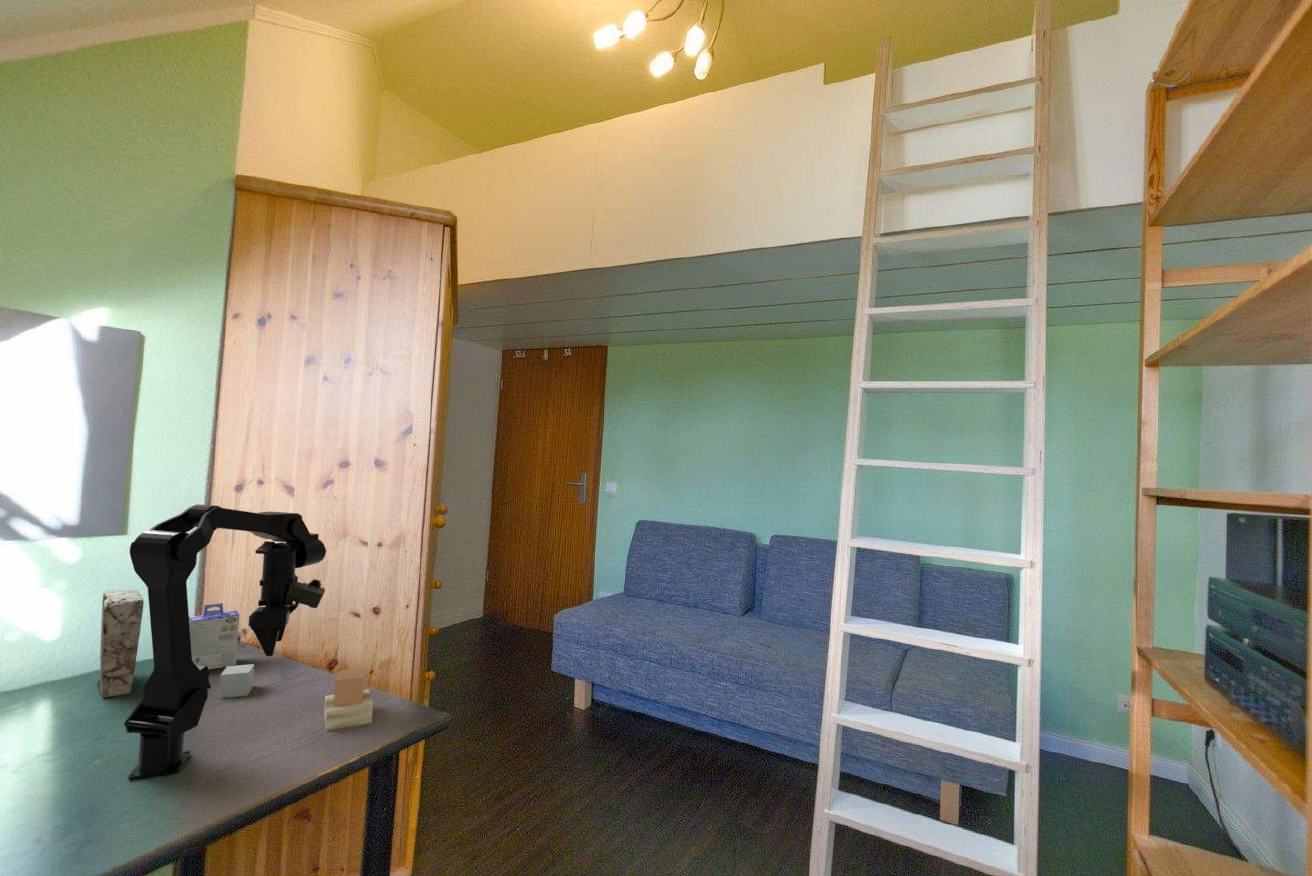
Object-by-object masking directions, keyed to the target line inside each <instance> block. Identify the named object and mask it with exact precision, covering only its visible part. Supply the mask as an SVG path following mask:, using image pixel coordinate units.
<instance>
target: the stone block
mask: <svg viewBox="0 0 1312 876" xmlns="http://www.w3.org/2000/svg"><path fill="white" fill-rule="evenodd" d="M101 603H102V604H101V605H102V607H101V621H100V622H101V625H100V626H101V627H100V630H101V631H100V653H99V657H100V660H99V662H100V663H99V667H100V669H99V671H100V672H99V673H100V675H99V676H100V677H99V680H98V681H97V683H96V684H97V686H98V689H99V693H100V694H101V697H102V698H107V697H114V696H115V697H116V696H121V695H123V696H124V695H129V694H131V693H133V689H132V688H133V683H134V677H135V676H134V675H135V671H136V669H135V668H136V664H137V656H138V650H139V649H138V648H139V641H140V633H141V629H142V628H141V627H142V620H143V619H142V618H143V611H144V605H145V604H144V597H143V596H142V594H140V591H139V590H138V589H120V590H117V589H116V590H106V591H104V592H103V594H102V602H101Z"/></svg>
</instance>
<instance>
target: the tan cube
mask: <svg viewBox="0 0 1312 876" xmlns="http://www.w3.org/2000/svg"><path fill="white" fill-rule="evenodd" d="M365 675H366V668H360V669H359V668H358V669H346V670H345V669H344V670H343V669H342V670H337V674H336V677H335V680H334V692H333V694H334V704H333V706H338V705H348V704H358V703H362V699H363V693H364V690H365V679H366V677H365Z"/></svg>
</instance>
